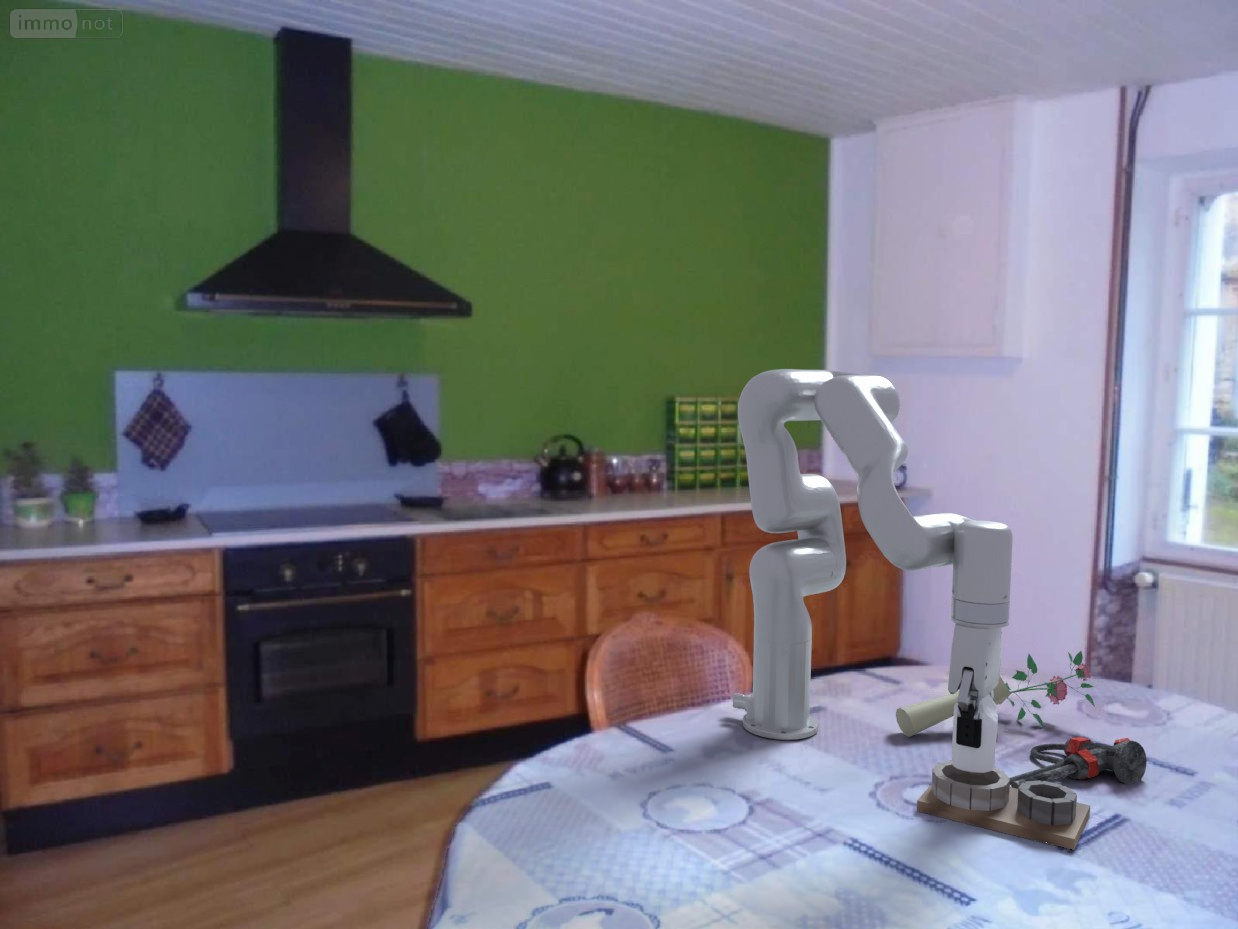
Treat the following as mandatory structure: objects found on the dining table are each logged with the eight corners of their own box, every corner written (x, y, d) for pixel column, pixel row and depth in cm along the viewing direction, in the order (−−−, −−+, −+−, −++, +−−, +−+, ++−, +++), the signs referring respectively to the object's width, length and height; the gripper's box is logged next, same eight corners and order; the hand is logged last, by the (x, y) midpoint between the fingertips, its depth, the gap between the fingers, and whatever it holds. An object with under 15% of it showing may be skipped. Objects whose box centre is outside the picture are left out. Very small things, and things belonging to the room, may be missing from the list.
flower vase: (902, 770, 173) (1067, 706, 183) (941, 777, 161) (1115, 708, 171) (880, 702, 174) (1045, 643, 184) (917, 704, 163) (1091, 640, 172)
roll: (985, 674, 144) (1008, 687, 139) (981, 756, 145) (1004, 772, 140) (946, 677, 143) (968, 689, 137) (943, 759, 144) (964, 775, 138)
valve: (1082, 755, 166) (1166, 776, 153) (963, 790, 155) (1042, 815, 141) (1078, 716, 166) (1162, 733, 153) (959, 748, 155) (1037, 769, 141)
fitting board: (916, 811, 140) (918, 779, 139) (941, 781, 150) (943, 752, 149) (1073, 850, 129) (1075, 816, 128) (1089, 816, 139) (1091, 784, 138)
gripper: (968, 596, 149) (963, 716, 151) (934, 620, 135) (929, 752, 136) (1022, 603, 145) (1016, 726, 147) (992, 628, 131) (986, 764, 132)
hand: (974, 737), depth 141 cm, fingers closed on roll, 5 cm apart
